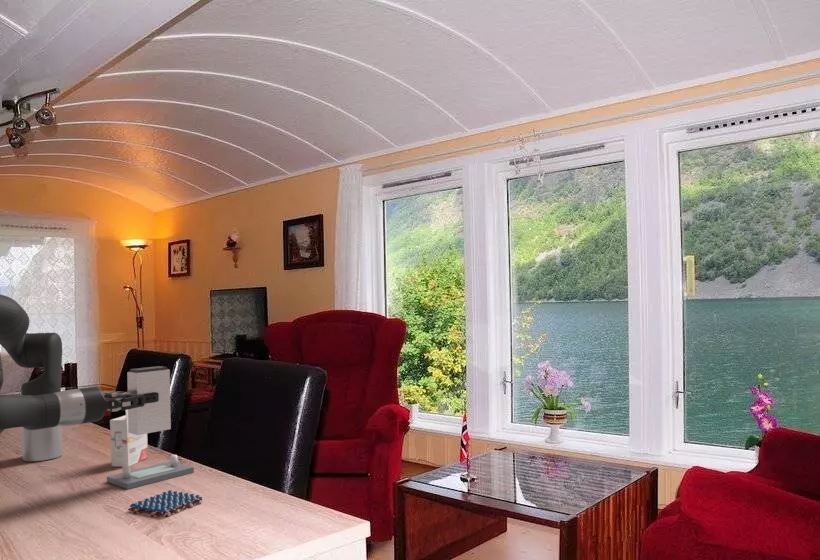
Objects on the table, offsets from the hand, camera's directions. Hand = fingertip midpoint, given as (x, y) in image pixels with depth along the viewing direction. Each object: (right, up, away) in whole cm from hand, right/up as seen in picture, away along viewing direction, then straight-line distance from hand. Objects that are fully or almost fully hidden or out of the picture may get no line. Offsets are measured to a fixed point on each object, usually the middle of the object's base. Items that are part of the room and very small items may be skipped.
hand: (152, 395), depth 151 cm
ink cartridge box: (-11, -20, +13) cm, 26 cm away
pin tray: (0, -19, -1) cm, 19 cm away
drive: (0, -8, -1) cm, 8 cm away
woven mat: (+12, -19, -23) cm, 32 cm away
